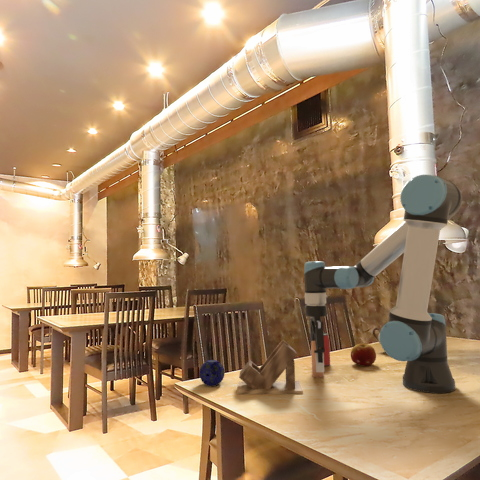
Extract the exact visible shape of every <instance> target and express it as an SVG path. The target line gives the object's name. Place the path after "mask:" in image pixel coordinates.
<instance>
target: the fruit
mask: <svg viewBox="0 0 480 480" xmlns="http://www.w3.org/2000/svg"><path fill="white" fill-rule="evenodd" d="M350 358H351V361H352V362H353V363H354V364H356V365H358V366H361V367H369V366H372V365H374V363H375V362H376V360H377V359H376V358H377V353H376V350H375V348H374V347H373V346H372V345H370V344H368V343H358V344H355V345H354V346H353V347H352V348H351V351H350Z"/></svg>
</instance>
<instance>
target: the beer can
mask: <svg viewBox="0 0 480 480" xmlns="http://www.w3.org/2000/svg"><path fill="white" fill-rule="evenodd" d="M323 334H324V347H325V352H324V367H328V366H330V365H331V349H330V348H331V347H330V337H329V334H328V333H325V332H323Z"/></svg>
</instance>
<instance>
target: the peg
mask: <svg viewBox="0 0 480 480" xmlns="http://www.w3.org/2000/svg"><path fill="white" fill-rule="evenodd" d="M310 346H311V347H310V349H311V348H312V355H311V372H312V377H313V378H316V379H317V378H318V379H319V378H320V379H321V378H324V377H325V374H324V373H325V371H324V372H316V353H314V350H316V344H315V341H311V343H310Z"/></svg>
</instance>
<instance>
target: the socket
mask: <svg viewBox="0 0 480 480" xmlns="http://www.w3.org/2000/svg"><path fill="white" fill-rule="evenodd" d="M297 355H298V353H297V350H295V349H294V348H293V347H292V346H291V345H290V344H288V343H287V342H286V341H285V340H284V339H281V341H280V342H279V343H278V344H277V346H276V347H274V349H273V351H272V352H271V353H270V354H269V356H268V357H267V358H266V360H265V361H264V362H263V364H262V365H261V366H260V367H259V366H258V365H257V364H255V363H254V362H253V361H252V360H251V359H249V360H248V361H247V362H246V363H245V365H244V366H243V367H242V369H241V370H240V371H239V376H238V377H239V379H240V380H241V381H238V382H237V383H238V384H237V390H236V394H237V395H275V394H276V395H281V394H282V395H285V394H286V395H293V394H295V395H297V394H298V395H299V394H300V395H303V394H304V390H303V387H302V385H301V383H300V381H299V380H296V371H295V366H296V365H295V357H297ZM283 372H285V381H284V380H282V381H281V380H278V378H279V377H280V376H281V375H282V374H283ZM277 380H278V381H277Z"/></svg>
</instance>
